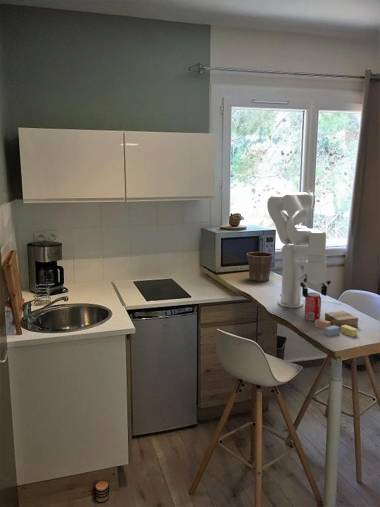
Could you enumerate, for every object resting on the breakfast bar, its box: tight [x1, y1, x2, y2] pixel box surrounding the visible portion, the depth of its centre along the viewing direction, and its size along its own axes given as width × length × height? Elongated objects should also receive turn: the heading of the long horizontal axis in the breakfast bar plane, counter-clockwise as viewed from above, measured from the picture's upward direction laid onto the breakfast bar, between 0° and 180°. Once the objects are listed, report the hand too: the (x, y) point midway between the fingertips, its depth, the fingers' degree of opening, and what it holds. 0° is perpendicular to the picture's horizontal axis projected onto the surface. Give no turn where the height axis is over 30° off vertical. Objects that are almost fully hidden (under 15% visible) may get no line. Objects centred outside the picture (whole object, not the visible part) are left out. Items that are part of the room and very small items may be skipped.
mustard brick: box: [339, 325, 358, 337], centre depth 187 cm, size 6×3×3 cm, turn 32°
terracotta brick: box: [314, 318, 332, 330], centre depth 195 cm, size 6×3×3 cm, turn 47°
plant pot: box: [246, 251, 274, 283], centre depth 275 cm, size 16×16×16 cm
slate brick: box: [323, 325, 341, 337], centre depth 187 cm, size 6×3×3 cm, turn 118°
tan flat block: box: [324, 310, 359, 330], centre depth 198 cm, size 10×10×4 cm
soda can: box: [303, 292, 322, 322], centre depth 203 cm, size 7×7×12 cm
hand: (314, 295), depth 201 cm, fingers open, 9 cm apart
